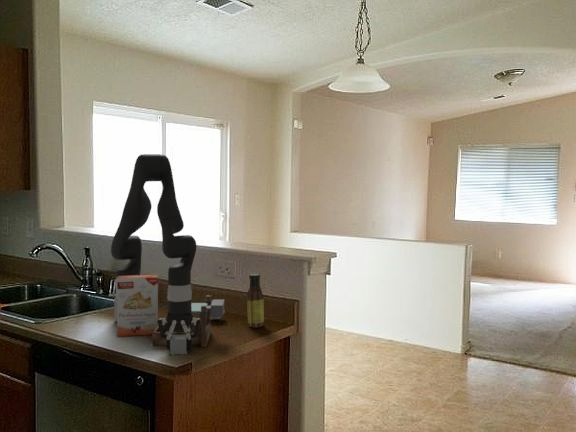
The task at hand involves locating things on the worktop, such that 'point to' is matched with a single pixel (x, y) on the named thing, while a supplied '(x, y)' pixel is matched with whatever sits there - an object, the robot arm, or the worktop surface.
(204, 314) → the frame
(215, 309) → the trapdoor
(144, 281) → the cracker box
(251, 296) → the sauce bottle
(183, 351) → the gray cube
